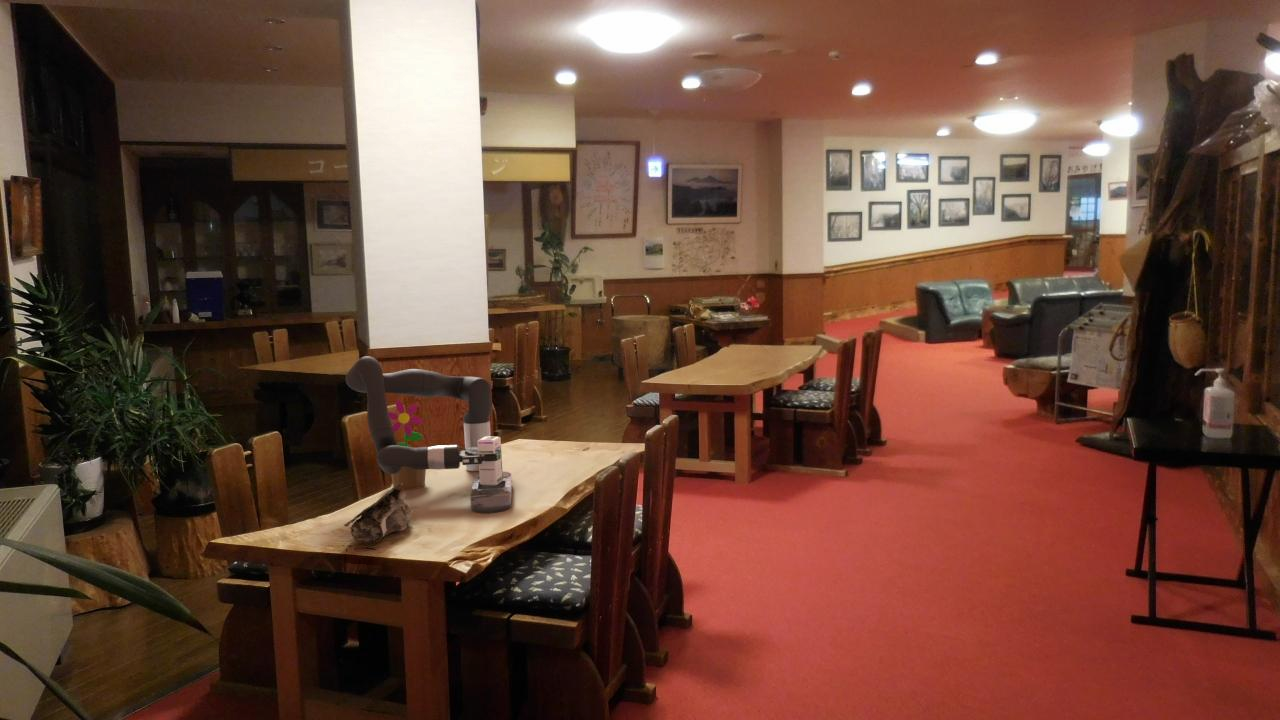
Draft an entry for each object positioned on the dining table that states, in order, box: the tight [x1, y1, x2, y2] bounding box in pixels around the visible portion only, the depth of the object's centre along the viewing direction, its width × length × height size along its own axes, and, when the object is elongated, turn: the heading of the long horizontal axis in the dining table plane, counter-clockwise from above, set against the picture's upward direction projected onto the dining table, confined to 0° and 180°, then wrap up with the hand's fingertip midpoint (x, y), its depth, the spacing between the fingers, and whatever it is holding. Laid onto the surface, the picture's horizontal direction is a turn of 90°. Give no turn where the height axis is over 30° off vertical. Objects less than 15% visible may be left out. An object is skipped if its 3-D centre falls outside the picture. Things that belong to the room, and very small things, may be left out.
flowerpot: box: [388, 399, 427, 491], centre depth 302 cm, size 14×14×30 cm
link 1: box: [471, 470, 513, 491], centre depth 292 cm, size 24×12×4 cm, turn 7°
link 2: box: [469, 485, 513, 514], centre depth 280 cm, size 24×12×4 cm, turn 7°
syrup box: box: [477, 435, 503, 485], centre depth 285 cm, size 6×6×14 cm
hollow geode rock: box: [343, 483, 413, 546], centre depth 250 cm, size 28×13×15 cm
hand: (497, 454), depth 285 cm, fingers closed on syrup box, 7 cm apart
